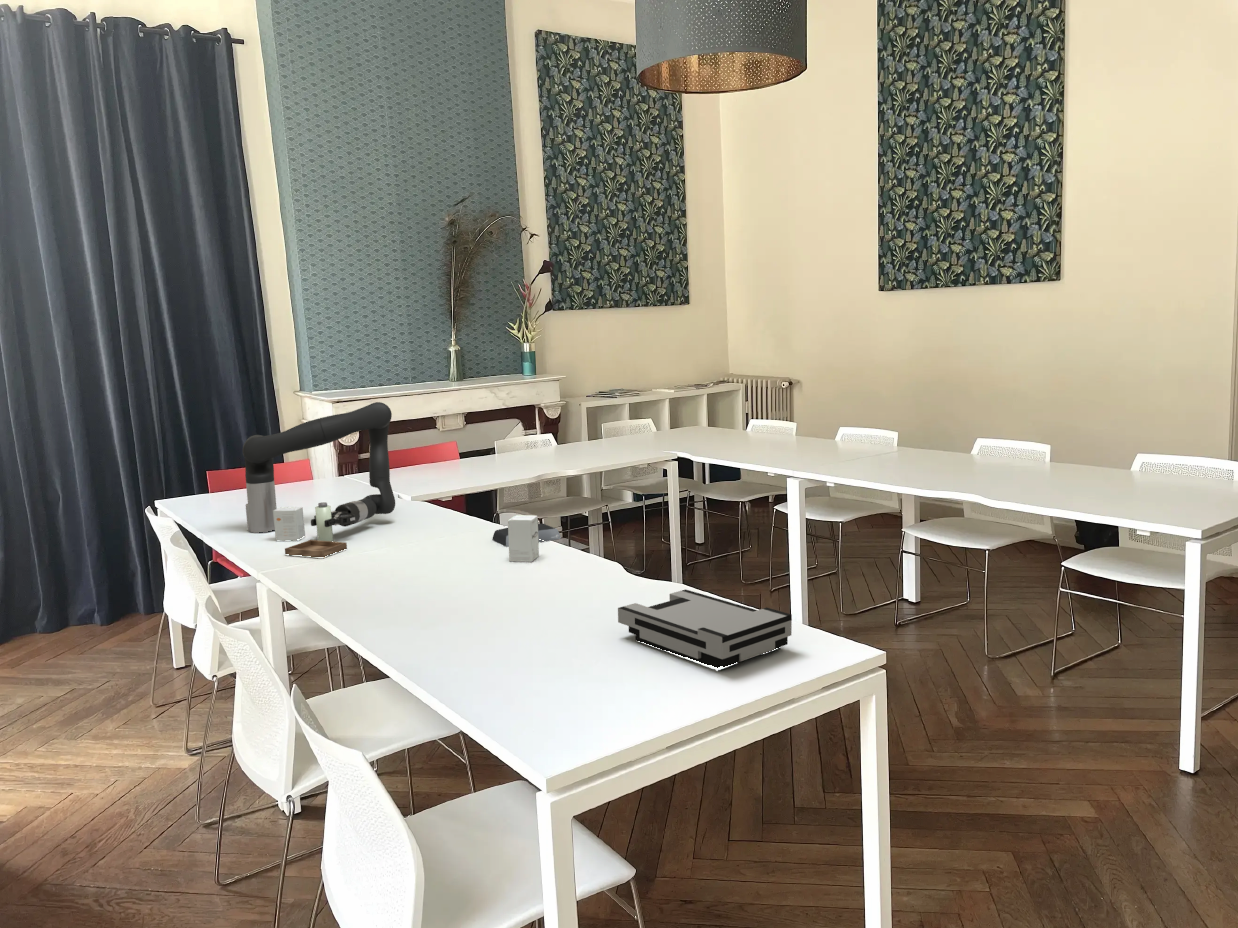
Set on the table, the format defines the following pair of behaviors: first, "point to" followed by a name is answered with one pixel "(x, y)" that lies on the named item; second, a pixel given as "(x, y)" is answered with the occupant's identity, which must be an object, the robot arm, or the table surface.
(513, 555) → the supplement box
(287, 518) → the small box
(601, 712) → the table surface
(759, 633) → the game console
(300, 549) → the tray
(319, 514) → the bottle
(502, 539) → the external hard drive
